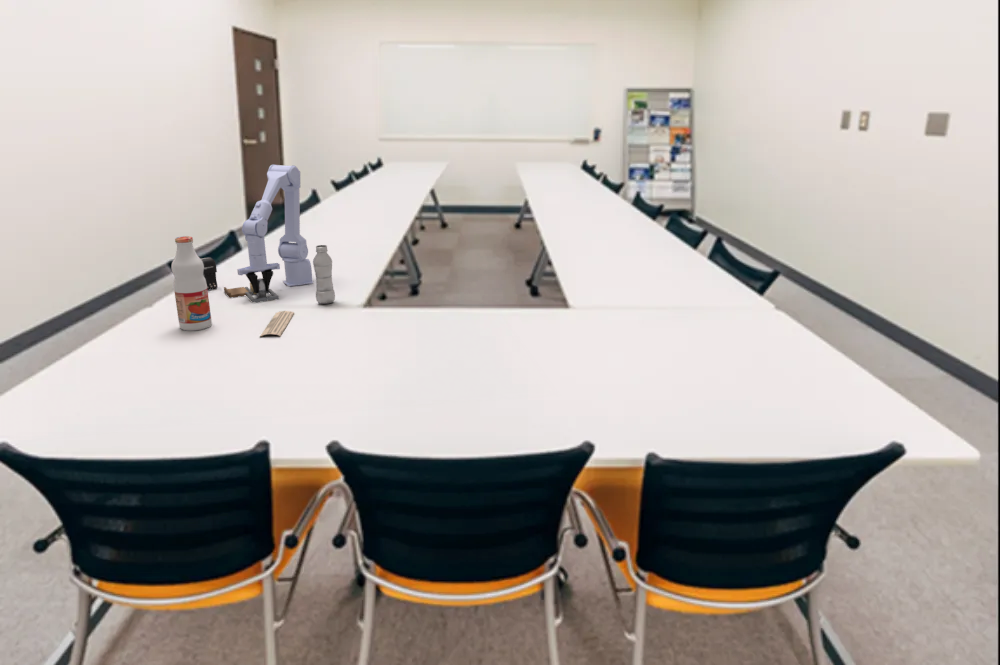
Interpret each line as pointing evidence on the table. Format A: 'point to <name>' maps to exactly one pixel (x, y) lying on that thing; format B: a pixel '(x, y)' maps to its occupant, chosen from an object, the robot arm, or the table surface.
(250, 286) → the block
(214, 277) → the battery charger
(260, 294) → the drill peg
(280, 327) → the newspaper
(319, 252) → the plastic bottle
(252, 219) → the robot arm
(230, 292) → the brown flat slab
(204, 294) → the fruit juice
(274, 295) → the socket
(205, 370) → the table surface
